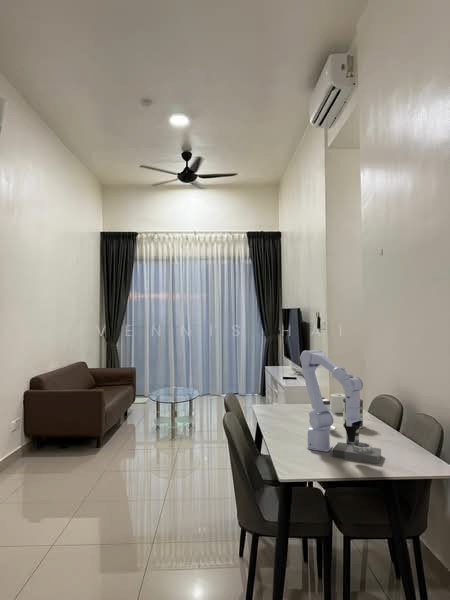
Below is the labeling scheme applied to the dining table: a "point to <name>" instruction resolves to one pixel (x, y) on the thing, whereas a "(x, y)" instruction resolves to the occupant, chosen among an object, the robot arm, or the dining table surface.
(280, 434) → the dining table surface
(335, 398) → the toilet tissue
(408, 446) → the dining table surface
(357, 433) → the lens
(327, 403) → the panda figurine
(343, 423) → the coffee can
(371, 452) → the camera body
